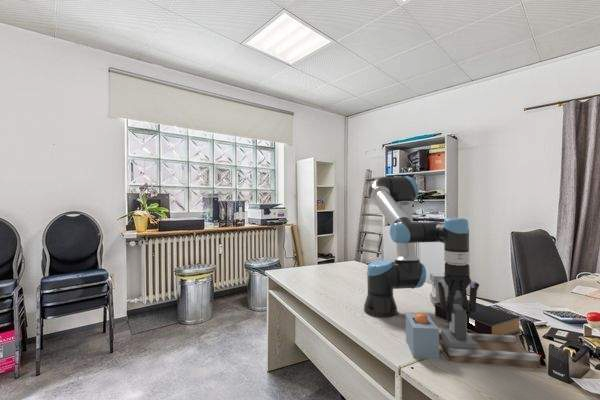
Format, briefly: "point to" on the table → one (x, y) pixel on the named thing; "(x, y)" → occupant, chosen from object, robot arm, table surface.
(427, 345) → the end cabinet
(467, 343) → the carriage
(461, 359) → the rail board
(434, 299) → the circuit breaker
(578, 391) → the table surface
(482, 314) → the book
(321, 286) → the table surface
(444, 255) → the robot arm
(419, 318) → the button
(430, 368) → the table surface
